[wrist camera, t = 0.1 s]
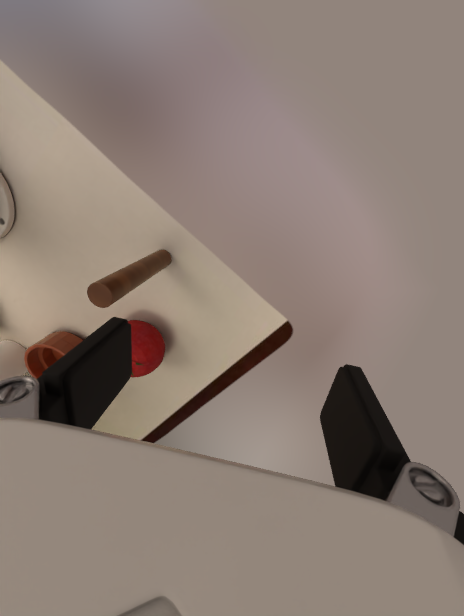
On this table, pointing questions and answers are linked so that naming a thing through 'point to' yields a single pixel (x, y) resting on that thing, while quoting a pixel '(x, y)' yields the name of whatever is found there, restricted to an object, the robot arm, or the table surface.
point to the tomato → (145, 348)
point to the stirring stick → (127, 279)
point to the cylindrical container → (11, 359)
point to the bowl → (49, 351)
